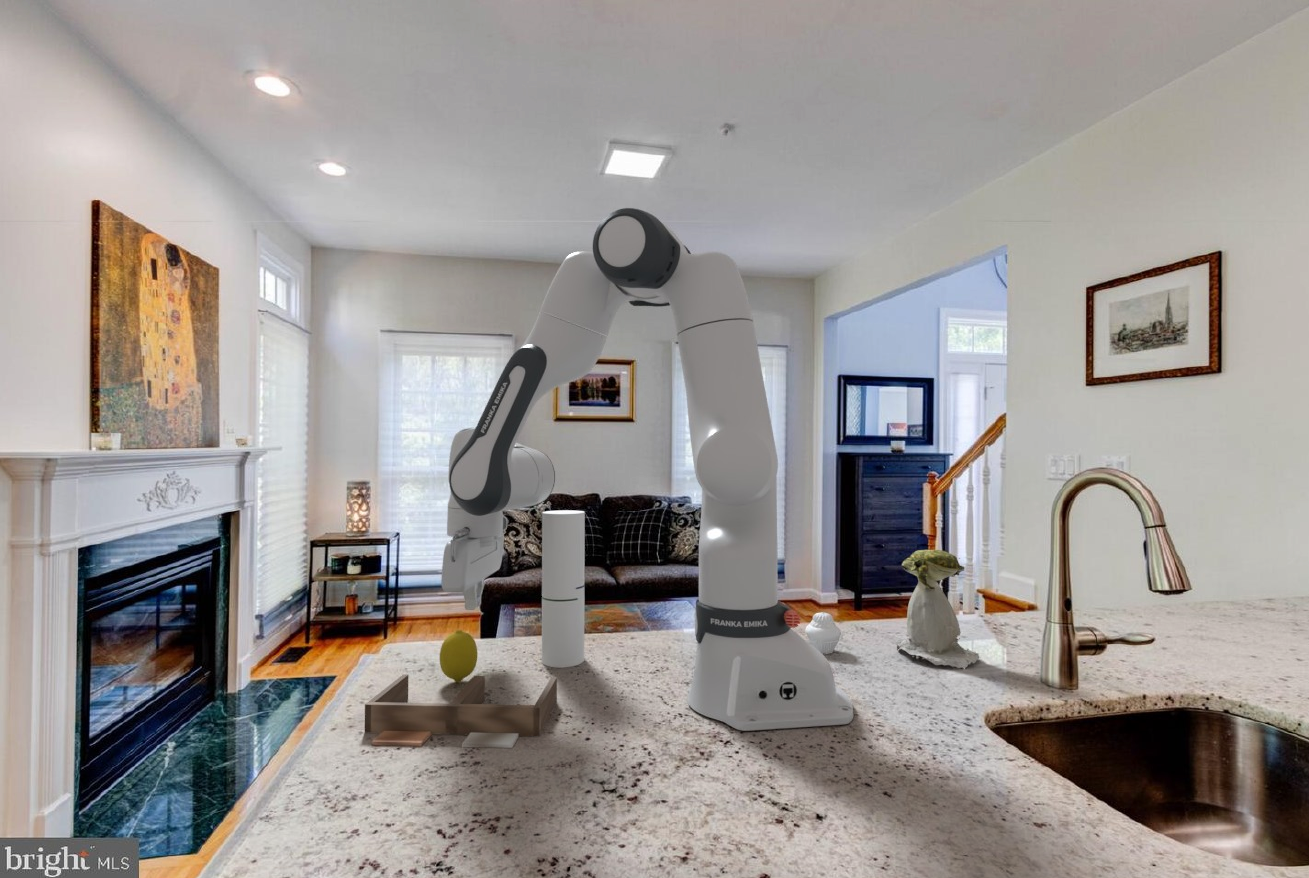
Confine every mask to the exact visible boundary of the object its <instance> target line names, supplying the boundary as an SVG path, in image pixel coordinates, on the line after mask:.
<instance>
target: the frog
mask: <svg viewBox="0 0 1309 878" xmlns="http://www.w3.org/2000/svg"><path fill="white" fill-rule="evenodd" d="M960 559H961V558H960V557H959V558H957V556H956V555H954V554H952V553H950V552H947V551H945V550H940V549H919V550H915V551H914V552H912V554H911V555H910V556H909V557H907V558H906V559H904V560H903V561H902V563H901V568H902V569H903V570H904V571H905V572H907V573H909V574H912V575H913V576H915V577H916V578H917V580H918V582H917V585H916V587H915V588H914V590H913V593H912V594H911V596H910V598H909V602H908V606H907V614H906V628H907V629H906V631H907V635H908V637H909V638H908V640H907V639H903V640H901V642H900V643H898V644H896V650H897V651H899V650H900V649H902V651H905V652H906V653H907V654H909V655H911V657H912V658H914V657H915V658H916V659H917V660H919V658H920V657H921V660H927V661H929V662H930V663H932V664H933V665H935V666H940V665H942V666H951V667H952V668H957V669H961V668H962V669H963V668H965V669H966V668H967V667H968V665H971V664H975V663H976V662H977V661H978V660H979V659H980V653H978V652H976V651H973V650H970V649H969V648H967V649H965V648H964V647H962V646H961V645H960V644H959V642H958V641H959V640H960V639H961V638H960V637H959V636H961V628H960V624H959V621H958V617H957V615H956V613H955V611H954V608H953V606H952V604H951V603H950V601H949V599H948V597H947V596H946V594H945V593H944V591H943V590H942V587H941V586H940V583H941V582H942V580H945V579H946V578H948V577H954V578H955V576H960V573H961V572H965V566H963V565H961V564H960V563H959V560H960ZM958 637H959V638H958ZM898 649H899V650H898Z"/></svg>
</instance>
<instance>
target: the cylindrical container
mask: <svg viewBox="0 0 1309 878" xmlns="http://www.w3.org/2000/svg"><path fill="white" fill-rule="evenodd" d="M585 514H586V512H585V511H584V510H572V509H570V510H569V509H567V510H563V509H562V510H546V511H542V513H541V517H542V518H541V519H542V521H541V523H542V524H541V532H542V533H541V535H542V536H541V537H542V538H541V539H542V540H541V541H542V542H541V546H542V547H541V568H542V569H541V596H542V597H541V663H542V664H543V665H544V666H547V667H549V668H571V667H575V666H578V665H581V664H583V663H584V661H585V582H586V581H585V575H586V574H585V571H586V570H585V561H586V559H585V557H586V555H585V554H586V551H585V549H586V547H585V545H586V544H585V543H586V542H585V539H586V538H585V537H586V536H585V535H586V534H585V533H586V530H585V527H586V526H585V525H586V523H585V520H586V518H585V517H586V515H585Z"/></svg>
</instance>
